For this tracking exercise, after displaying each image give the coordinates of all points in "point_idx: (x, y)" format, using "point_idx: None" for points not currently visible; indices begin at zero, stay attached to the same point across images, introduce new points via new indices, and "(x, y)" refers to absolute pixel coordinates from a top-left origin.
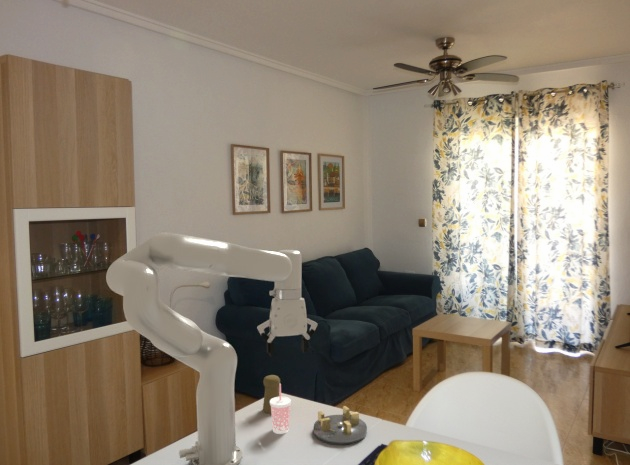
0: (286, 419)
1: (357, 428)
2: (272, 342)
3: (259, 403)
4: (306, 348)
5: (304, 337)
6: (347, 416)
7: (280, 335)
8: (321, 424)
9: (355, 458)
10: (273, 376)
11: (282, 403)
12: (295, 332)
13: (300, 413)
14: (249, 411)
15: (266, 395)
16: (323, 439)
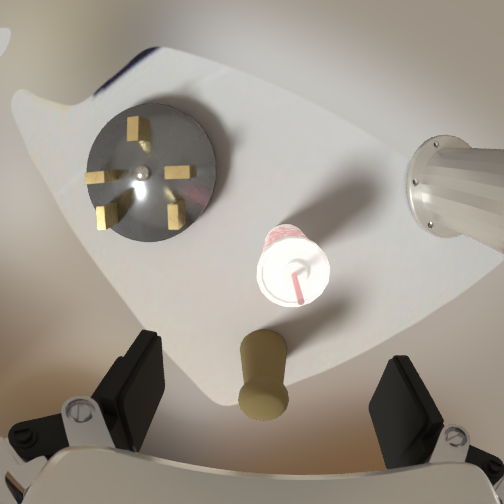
0: (280, 232)
1: (112, 147)
2: (428, 430)
3: None
4: (130, 350)
5: (110, 430)
6: (110, 203)
7: (423, 467)
8: (192, 173)
9: (174, 53)
10: (258, 408)
11: (294, 253)
12: (212, 496)
13: (204, 309)
14: (313, 362)
15: (282, 370)
16: (207, 138)
